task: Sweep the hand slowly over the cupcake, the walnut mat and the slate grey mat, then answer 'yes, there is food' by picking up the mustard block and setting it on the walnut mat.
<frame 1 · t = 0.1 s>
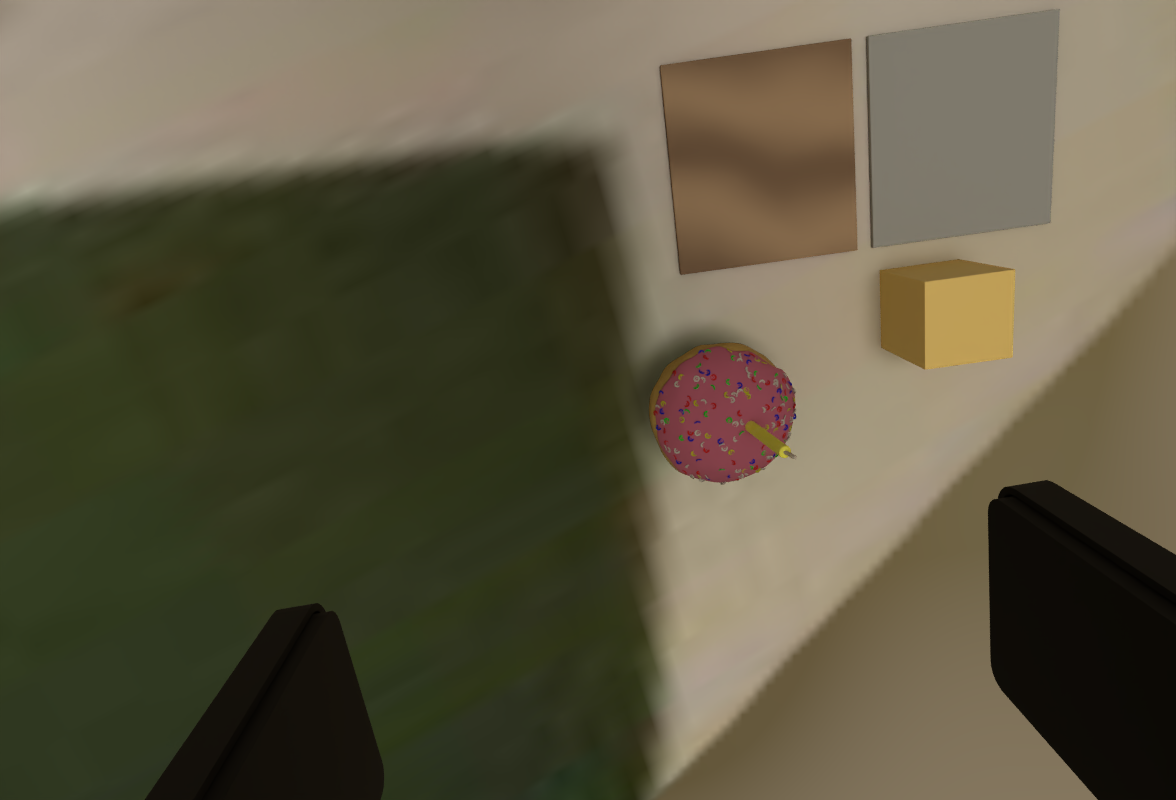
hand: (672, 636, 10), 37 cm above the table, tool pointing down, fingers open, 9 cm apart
mustard block: (919, 303, 47), on the table
cupcake: (706, 393, 48), on the table
grey mat: (960, 133, 44), on the table
walnut mat: (761, 161, 44), on the table
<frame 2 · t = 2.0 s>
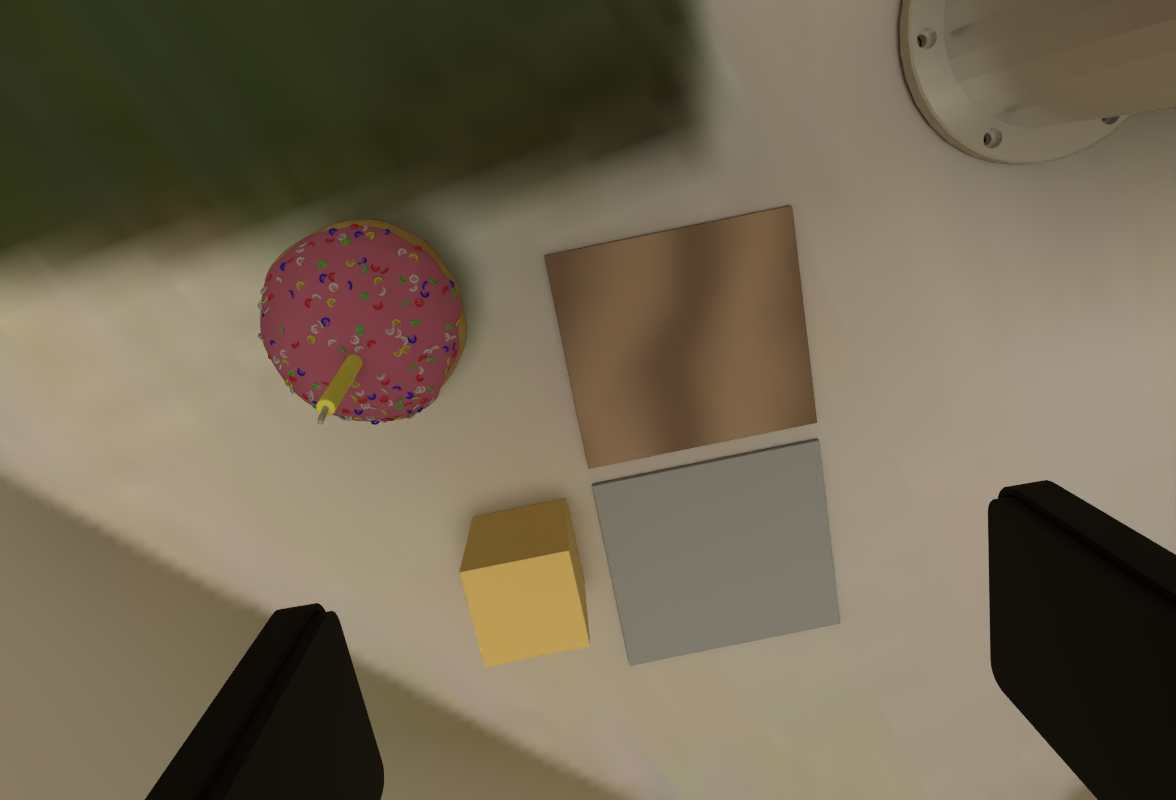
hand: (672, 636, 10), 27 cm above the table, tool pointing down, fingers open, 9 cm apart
mustard block: (529, 549, 39), on the table
cupcake: (387, 308, 35), on the table
grey mat: (719, 554, 40), on the table
walnut mat: (685, 341, 36), on the table
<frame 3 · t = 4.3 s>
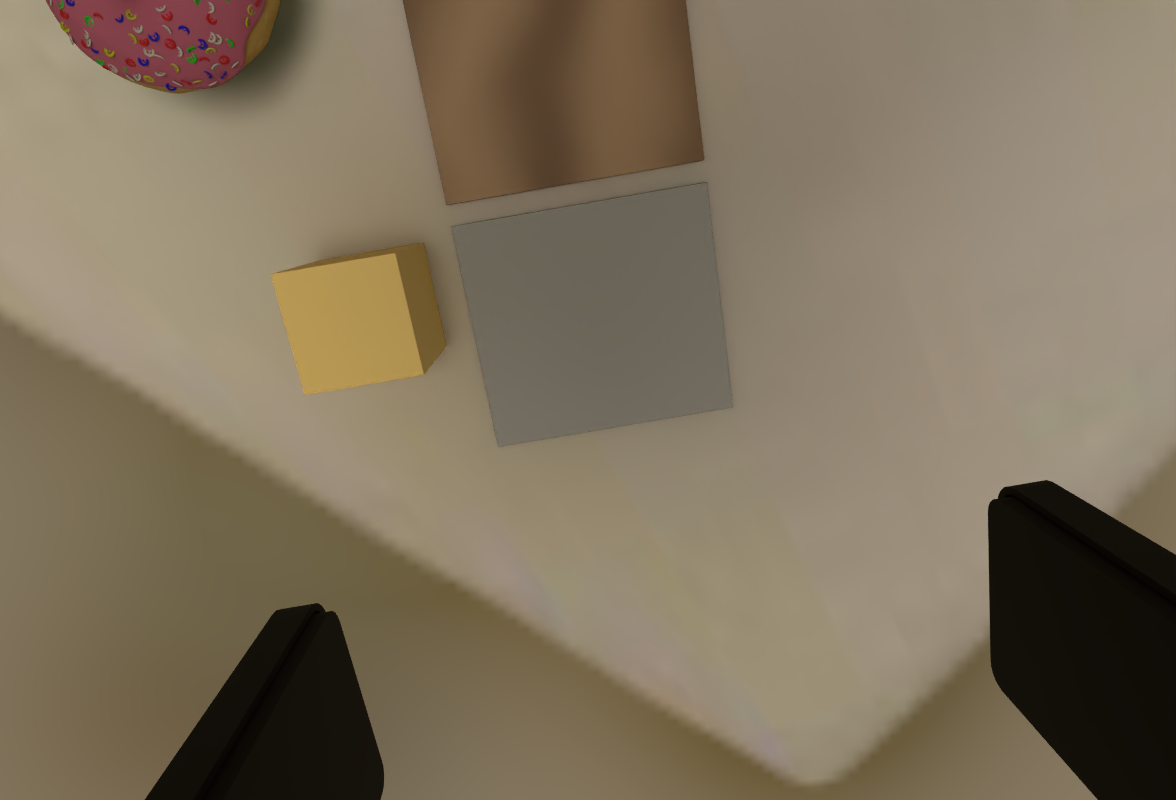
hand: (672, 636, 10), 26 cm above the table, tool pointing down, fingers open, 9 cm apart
mustard block: (384, 303, 35), on the table
grey mat: (597, 319, 36), on the table
walnut mat: (553, 54, 32), on the table
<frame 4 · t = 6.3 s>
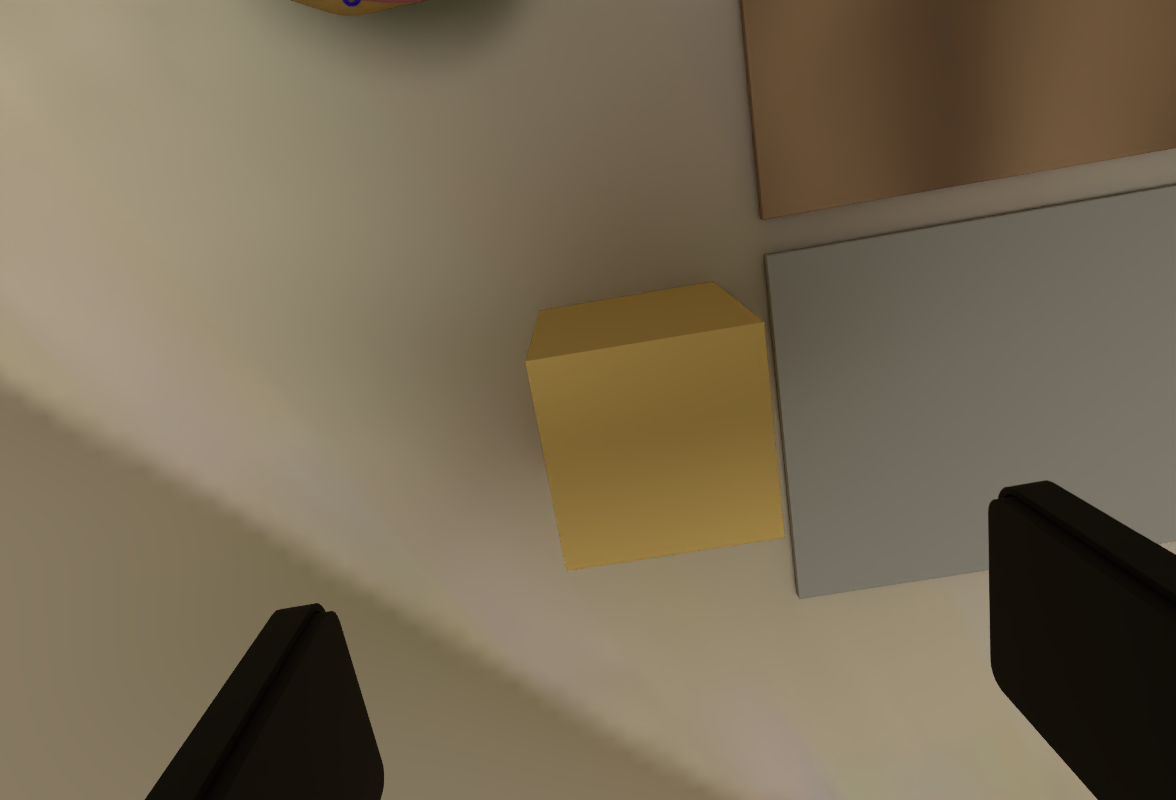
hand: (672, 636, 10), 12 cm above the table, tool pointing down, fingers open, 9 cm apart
mustard block: (638, 379, 22), on the table
grey mat: (981, 404, 22), on the table
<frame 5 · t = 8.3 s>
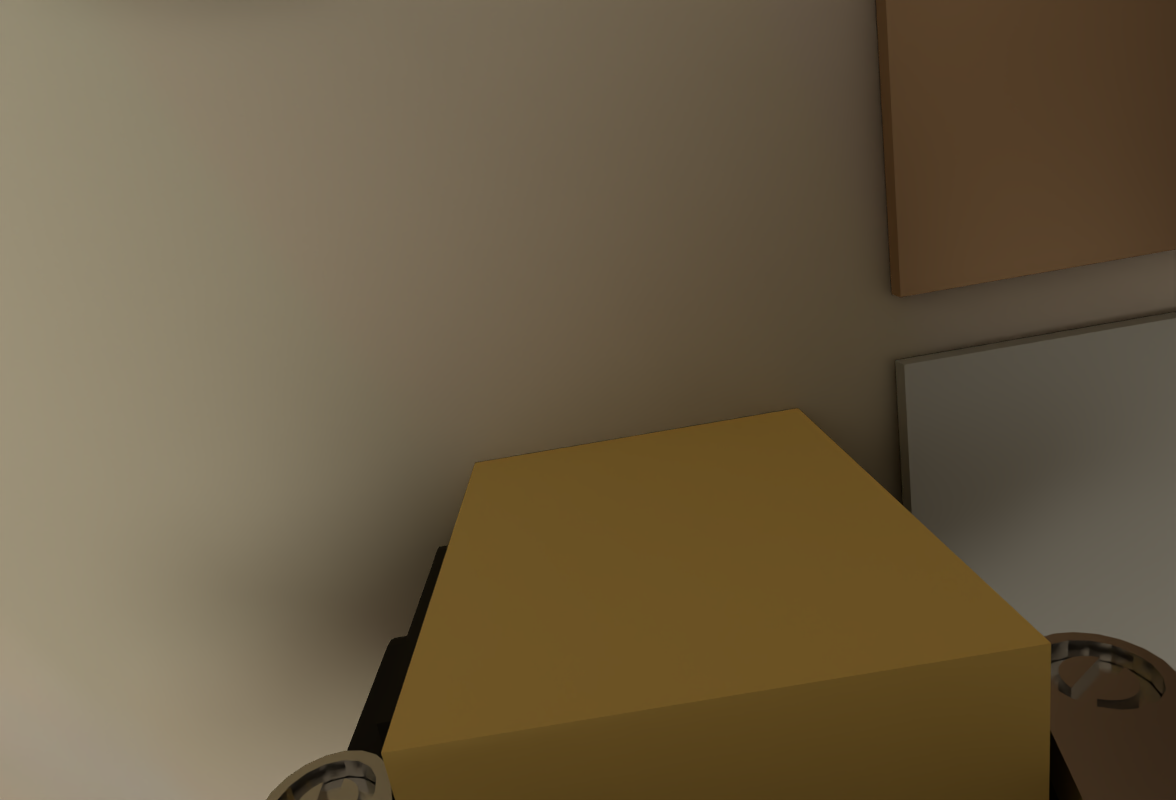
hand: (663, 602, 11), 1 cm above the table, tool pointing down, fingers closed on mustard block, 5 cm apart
mustard block: (658, 579, 12), on the table, touching gripper
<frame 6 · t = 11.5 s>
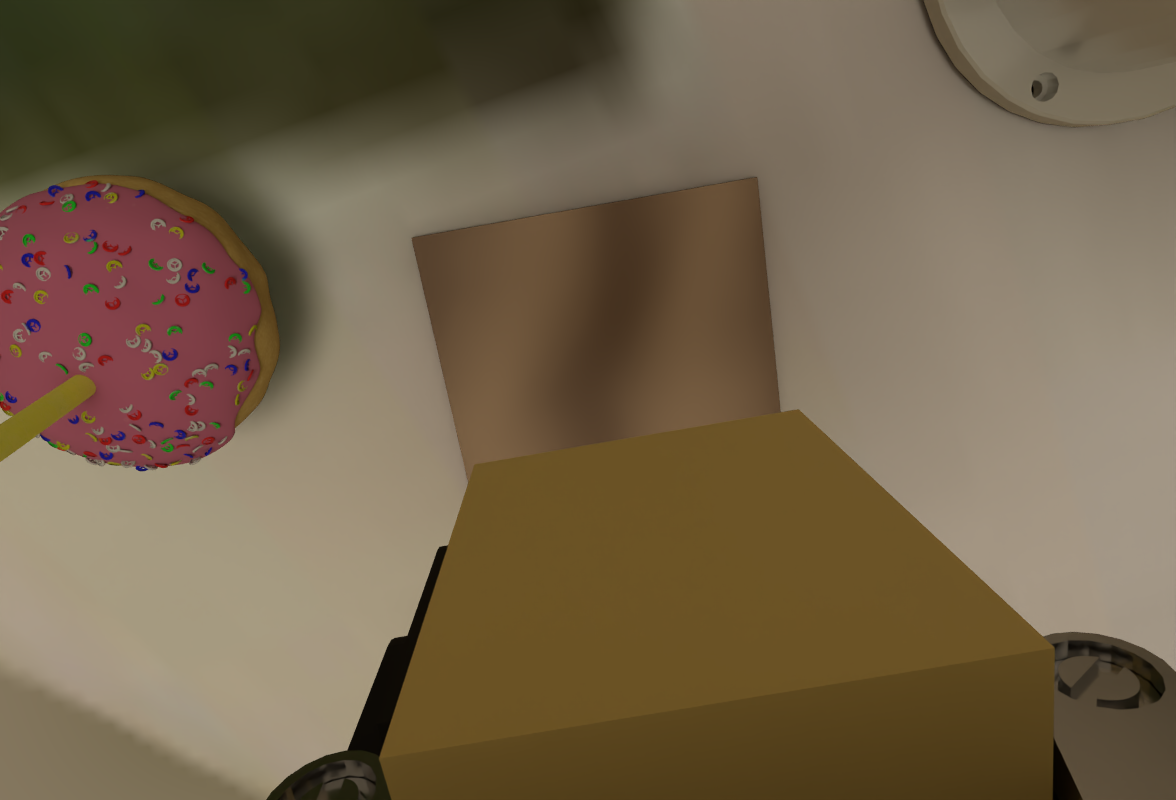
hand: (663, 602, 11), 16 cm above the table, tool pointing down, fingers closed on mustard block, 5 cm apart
mustard block: (658, 581, 12), point 16 cm above the table, touching gripper
cupcake: (200, 304, 26), on the table
walnut mat: (608, 360, 27), on the table
when the fingers open (3 cm above the table, at t = 14.6 s): mustard block drops 2 cm, resting on walnut mat.
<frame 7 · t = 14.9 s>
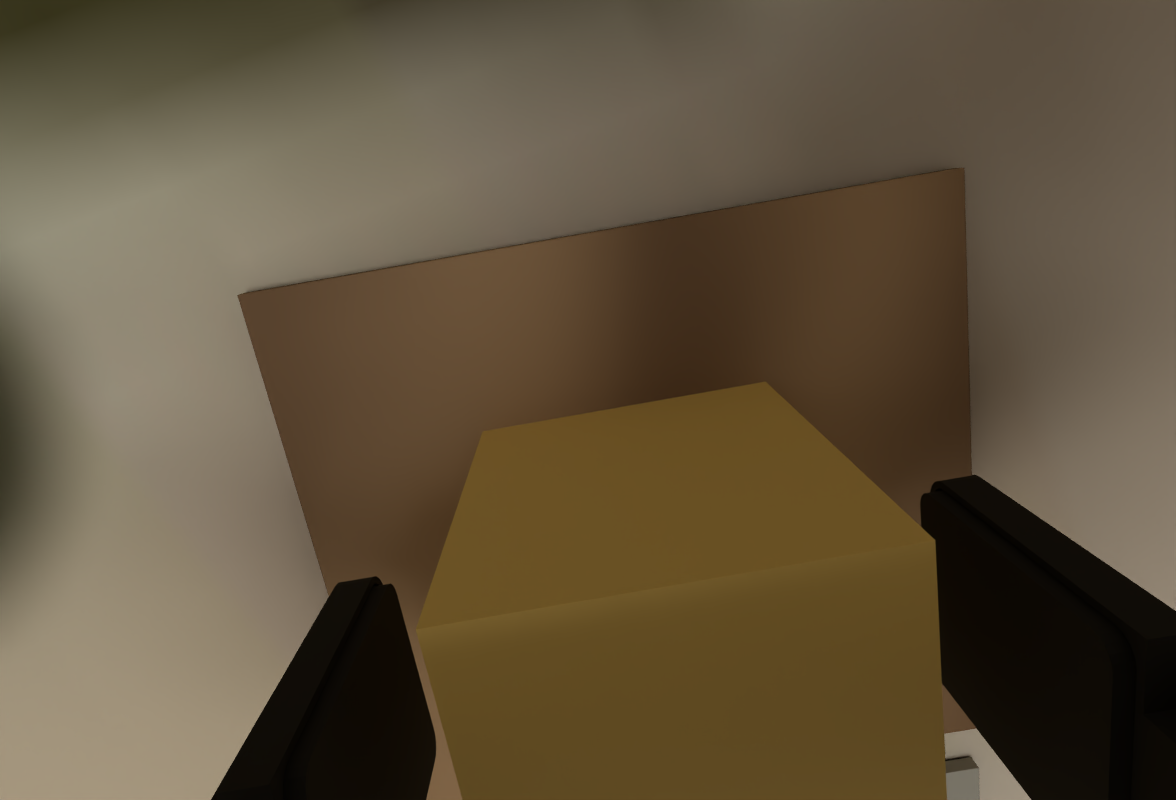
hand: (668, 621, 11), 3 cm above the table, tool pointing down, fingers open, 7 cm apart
mustard block: (645, 535, 13), resting on walnut mat
walnut mat: (645, 527, 14), on the table
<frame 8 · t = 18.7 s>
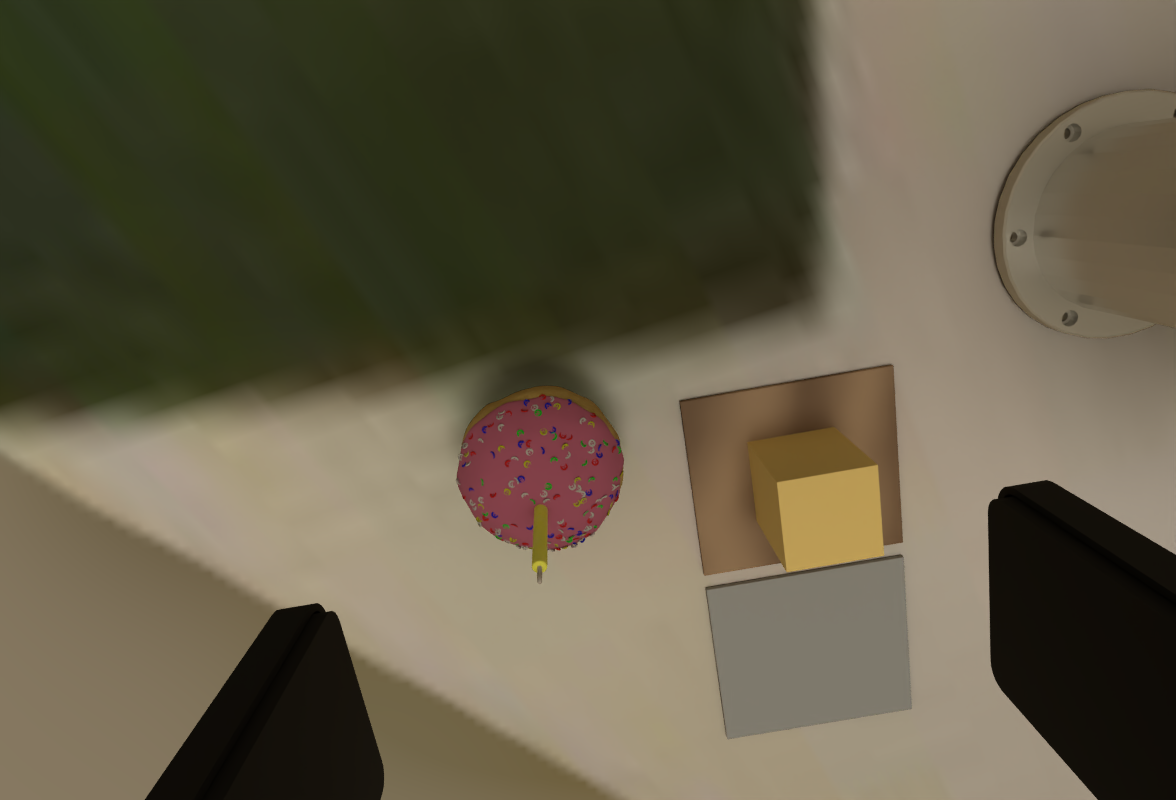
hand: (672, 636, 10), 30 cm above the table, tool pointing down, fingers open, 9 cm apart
mustard block: (794, 474, 42), resting on walnut mat
cupcake: (542, 440, 42), on the table
grey mat: (810, 648, 46), on the table
walnut mat: (793, 472, 42), on the table
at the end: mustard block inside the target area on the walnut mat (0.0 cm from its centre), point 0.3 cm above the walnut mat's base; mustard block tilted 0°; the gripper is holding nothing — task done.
